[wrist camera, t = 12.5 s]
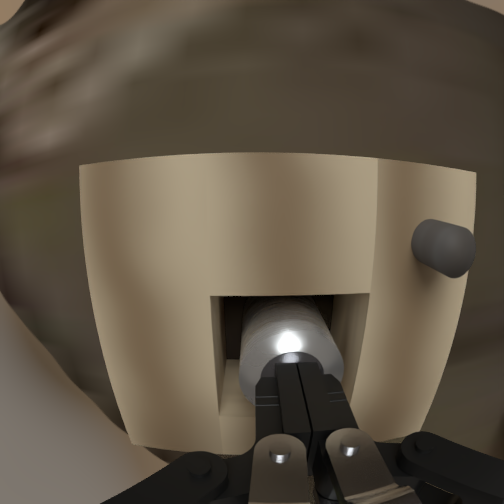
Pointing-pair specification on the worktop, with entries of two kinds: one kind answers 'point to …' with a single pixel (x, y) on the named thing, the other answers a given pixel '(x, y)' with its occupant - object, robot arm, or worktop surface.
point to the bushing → (284, 339)
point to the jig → (272, 280)
